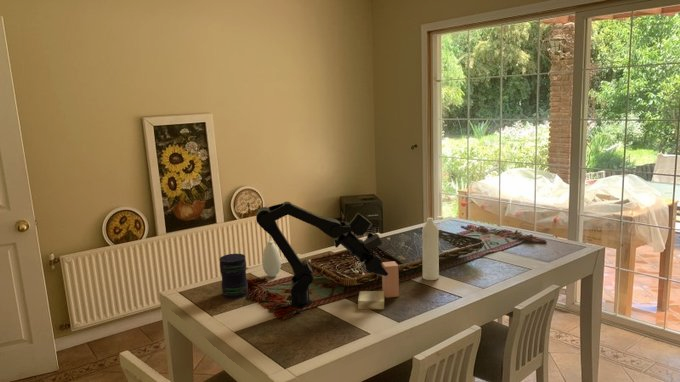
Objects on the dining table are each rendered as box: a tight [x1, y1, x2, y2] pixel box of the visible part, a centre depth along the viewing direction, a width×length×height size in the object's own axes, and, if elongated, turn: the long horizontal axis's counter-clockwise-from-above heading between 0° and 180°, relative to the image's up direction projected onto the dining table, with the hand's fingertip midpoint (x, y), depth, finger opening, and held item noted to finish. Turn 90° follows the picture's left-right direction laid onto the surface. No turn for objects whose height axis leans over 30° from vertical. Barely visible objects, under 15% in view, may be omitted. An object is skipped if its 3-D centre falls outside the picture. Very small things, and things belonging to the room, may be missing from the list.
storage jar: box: [219, 253, 249, 300], centre depth 194 cm, size 10×10×15 cm
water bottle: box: [421, 215, 444, 281], centre depth 202 cm, size 9×6×25 cm
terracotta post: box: [381, 260, 400, 298], centre depth 188 cm, size 5×5×12 cm
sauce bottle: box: [261, 237, 282, 278], centre depth 211 cm, size 8×8×18 cm
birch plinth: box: [357, 290, 385, 310], centre depth 181 cm, size 9×9×3 cm
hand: (384, 270), depth 187 cm, fingers open, 9 cm apart
